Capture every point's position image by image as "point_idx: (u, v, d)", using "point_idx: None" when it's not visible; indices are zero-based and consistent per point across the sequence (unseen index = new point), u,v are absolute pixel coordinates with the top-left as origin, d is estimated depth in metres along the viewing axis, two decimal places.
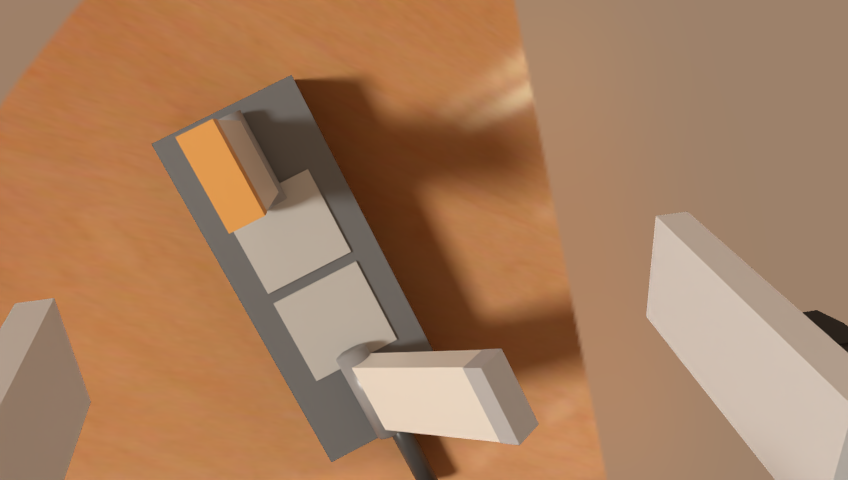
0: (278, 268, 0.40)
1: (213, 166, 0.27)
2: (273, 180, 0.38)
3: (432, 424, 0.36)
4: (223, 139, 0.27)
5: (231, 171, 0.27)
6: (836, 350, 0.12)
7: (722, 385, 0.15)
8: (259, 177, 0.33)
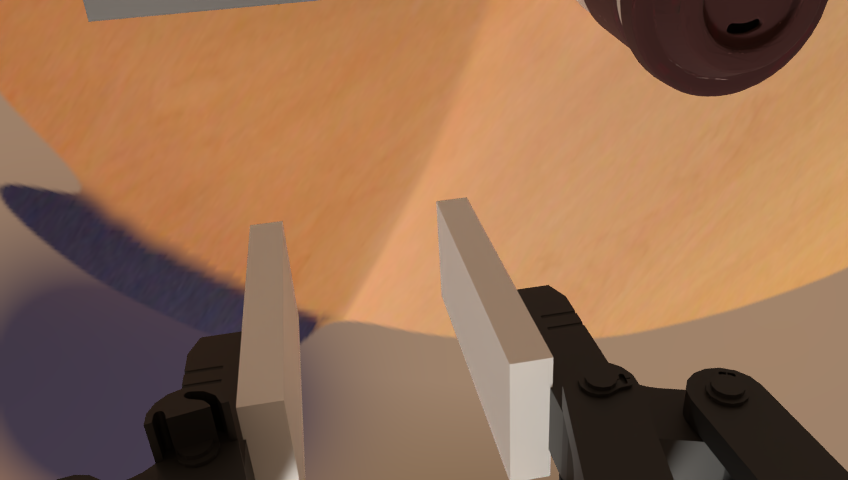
0: None
1: None
2: None
3: None
4: None
5: None
6: (524, 317, 0.13)
7: (470, 354, 0.16)
8: None
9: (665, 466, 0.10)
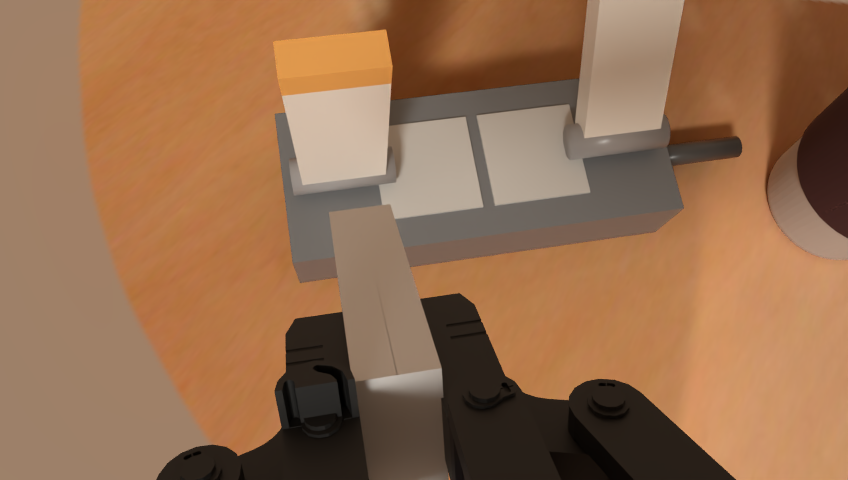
0: (460, 187, 0.37)
1: (319, 56, 0.26)
2: None
3: (663, 44, 0.34)
4: None
5: (331, 43, 0.26)
6: (421, 326, 0.13)
7: None
8: None
9: (554, 471, 0.10)
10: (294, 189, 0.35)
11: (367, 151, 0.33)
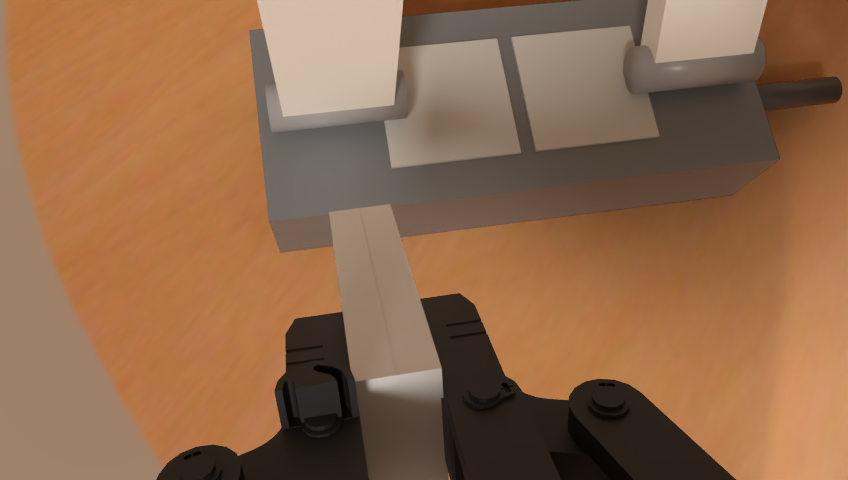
0: (490, 127, 0.28)
1: None
2: None
3: None
4: None
5: None
6: (421, 326, 0.13)
7: None
8: None
9: (554, 471, 0.10)
10: (272, 122, 0.26)
11: (370, 65, 0.24)
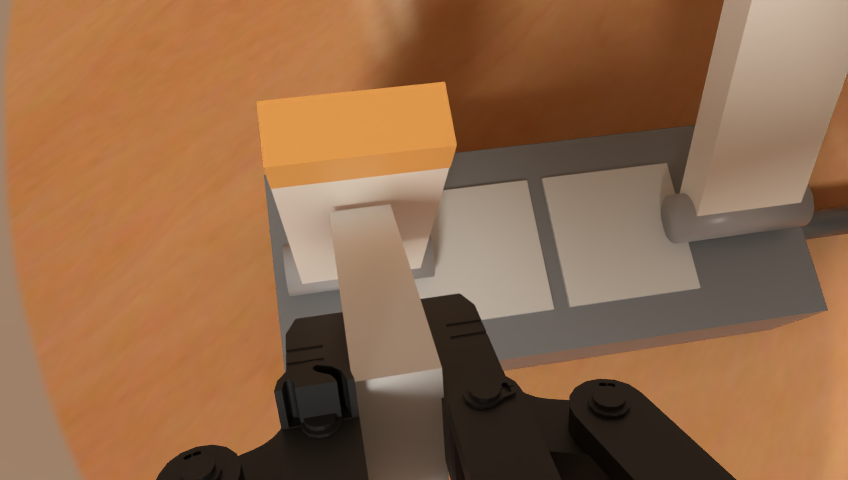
0: (521, 281, 0.27)
1: (334, 127, 0.15)
2: None
3: (823, 90, 0.24)
4: None
5: (354, 104, 0.16)
6: (421, 326, 0.13)
7: None
8: None
9: (555, 471, 0.10)
10: (290, 289, 0.25)
11: None
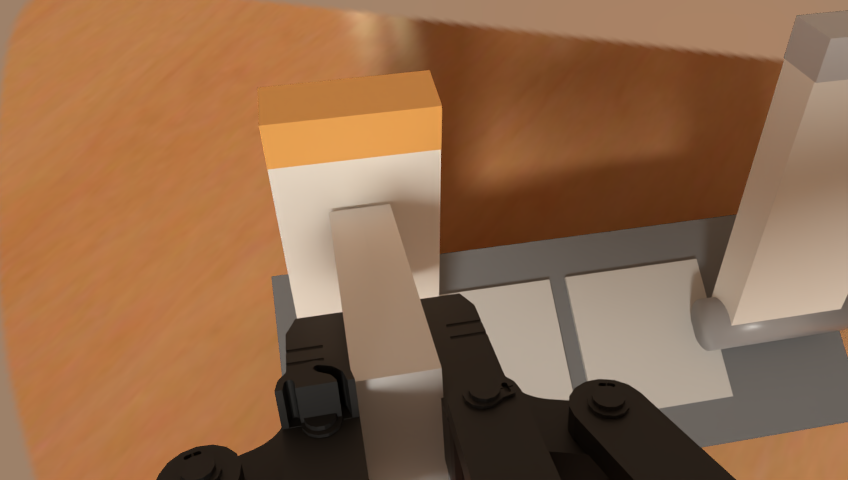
0: (544, 392, 0.25)
1: (327, 99, 0.16)
2: None
3: None
4: None
5: (346, 85, 0.17)
6: (421, 326, 0.13)
7: None
8: None
9: (554, 472, 0.10)
10: None
11: None
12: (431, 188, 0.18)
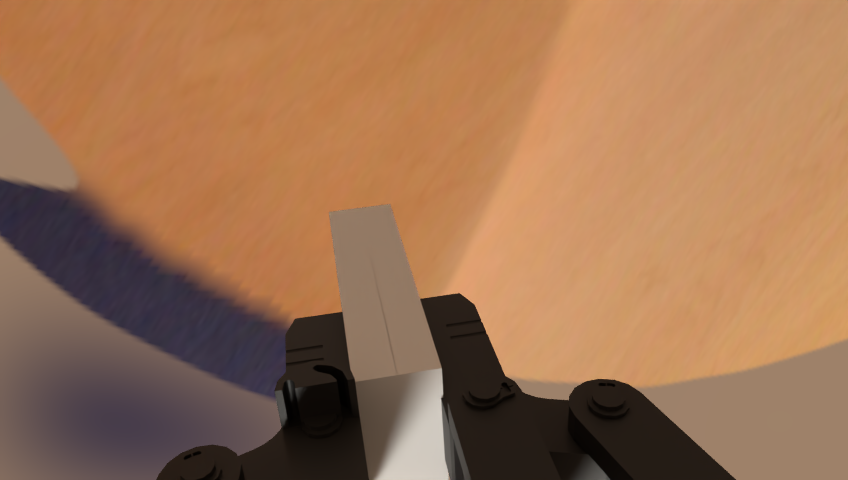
0: None
1: None
2: None
3: None
4: None
5: None
6: (421, 326, 0.13)
7: None
8: None
9: (554, 471, 0.10)
10: None
11: None
12: None
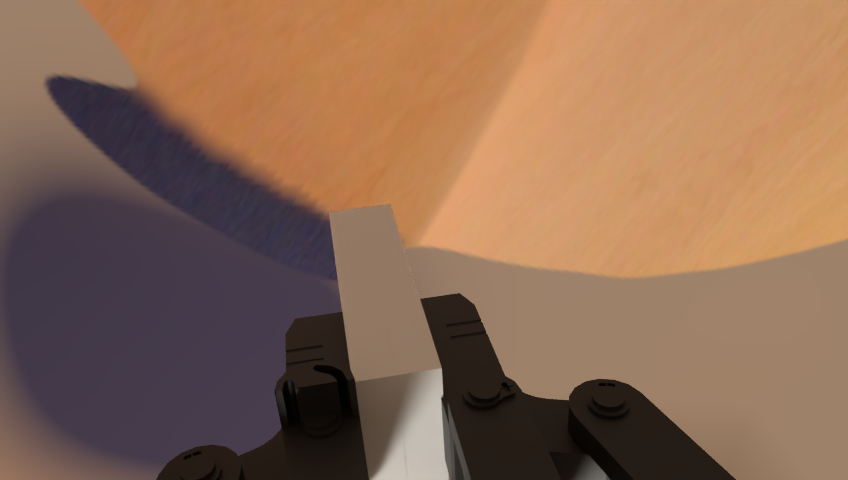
0: None
1: None
2: None
3: None
4: None
5: None
6: (421, 326, 0.13)
7: None
8: None
9: (554, 471, 0.10)
10: None
11: None
12: None
